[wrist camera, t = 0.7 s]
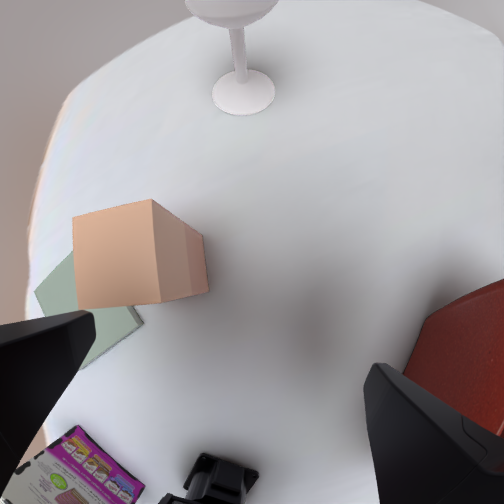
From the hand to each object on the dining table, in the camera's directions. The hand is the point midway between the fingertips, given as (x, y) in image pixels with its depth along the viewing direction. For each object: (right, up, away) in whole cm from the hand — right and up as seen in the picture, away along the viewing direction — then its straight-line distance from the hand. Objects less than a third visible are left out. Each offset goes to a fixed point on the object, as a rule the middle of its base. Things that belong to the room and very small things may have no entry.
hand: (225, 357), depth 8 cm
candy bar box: (-17, -23, +15) cm, 32 cm away
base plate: (-16, -2, +17) cm, 24 cm away
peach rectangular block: (-6, +2, +17) cm, 18 cm away
